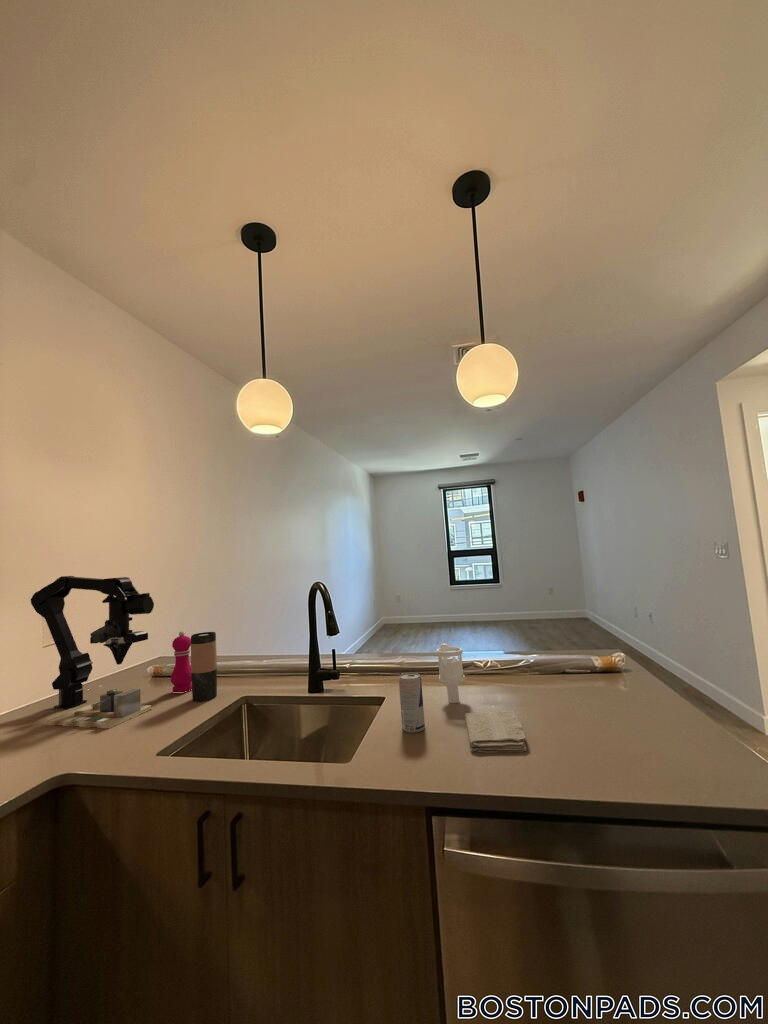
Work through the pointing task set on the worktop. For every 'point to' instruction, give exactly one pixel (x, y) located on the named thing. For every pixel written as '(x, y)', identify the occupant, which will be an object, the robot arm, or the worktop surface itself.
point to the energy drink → (411, 702)
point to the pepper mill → (181, 664)
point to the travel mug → (203, 666)
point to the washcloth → (495, 732)
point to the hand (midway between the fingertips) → (119, 664)
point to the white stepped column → (450, 670)
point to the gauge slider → (107, 701)
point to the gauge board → (92, 717)
